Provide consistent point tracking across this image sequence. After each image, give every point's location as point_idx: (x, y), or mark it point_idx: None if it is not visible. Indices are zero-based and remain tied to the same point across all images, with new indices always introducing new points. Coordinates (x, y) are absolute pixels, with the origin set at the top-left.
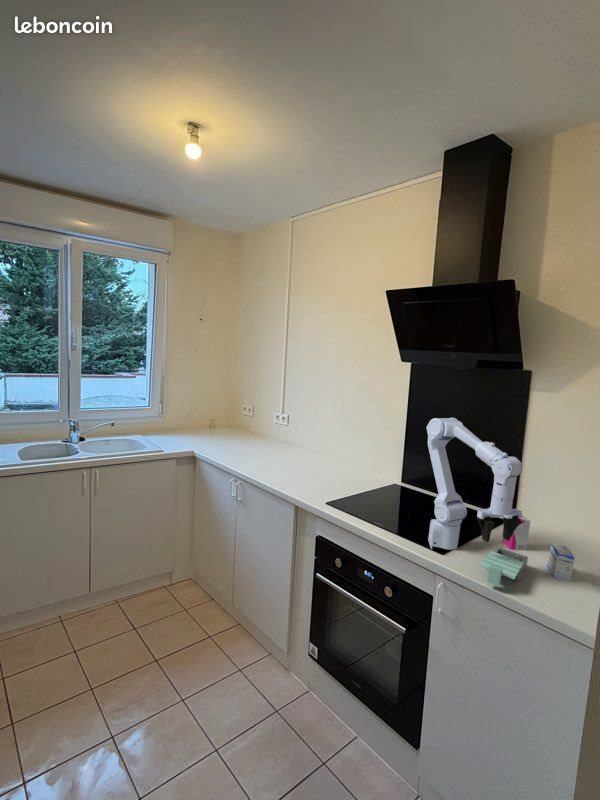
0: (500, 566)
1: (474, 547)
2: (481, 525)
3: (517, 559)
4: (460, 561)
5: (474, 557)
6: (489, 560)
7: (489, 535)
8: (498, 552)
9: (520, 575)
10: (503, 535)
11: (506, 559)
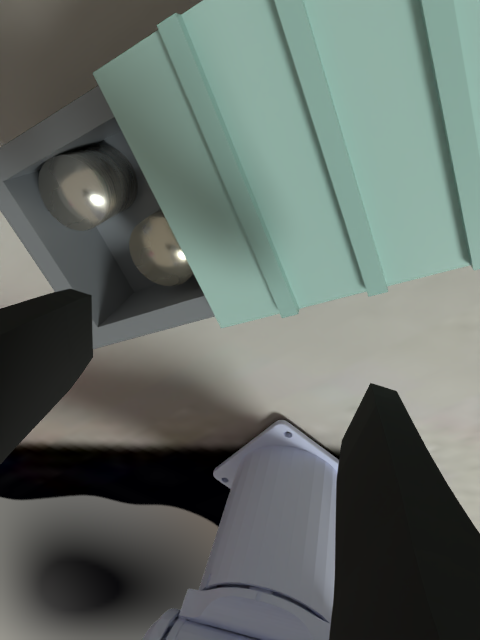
0: (462, 83)
1: (152, 411)
2: None
3: (63, 194)
4: (358, 379)
5: (236, 365)
6: (404, 239)
7: (407, 454)
8: (125, 312)
9: None
10: (76, 371)
11: (236, 171)
